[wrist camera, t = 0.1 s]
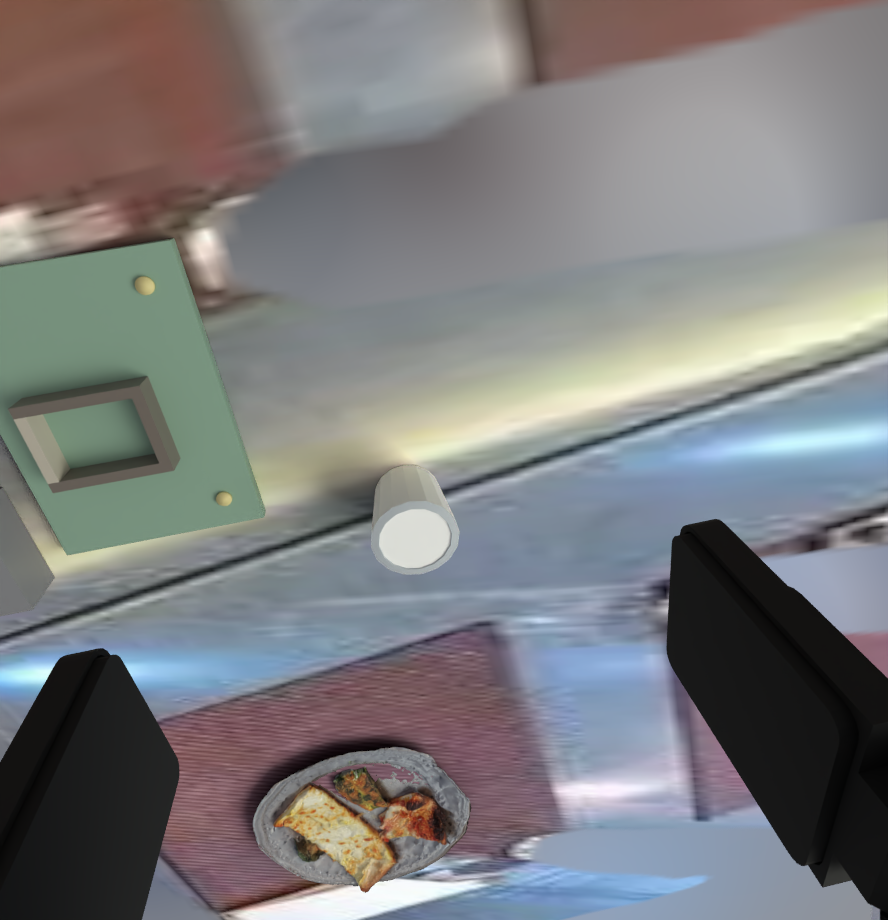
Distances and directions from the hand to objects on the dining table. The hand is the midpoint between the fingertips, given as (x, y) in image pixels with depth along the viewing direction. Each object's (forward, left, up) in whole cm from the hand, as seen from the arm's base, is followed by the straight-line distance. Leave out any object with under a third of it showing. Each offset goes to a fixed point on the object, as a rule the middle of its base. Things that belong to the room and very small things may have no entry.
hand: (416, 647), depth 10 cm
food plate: (+61, -12, -37) cm, 73 cm away
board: (+7, -20, -37) cm, 42 cm away
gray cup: (+19, 0, -37) cm, 42 cm away
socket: (+8, -21, -37) cm, 43 cm away
